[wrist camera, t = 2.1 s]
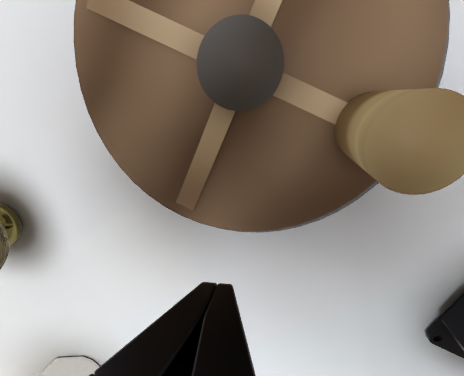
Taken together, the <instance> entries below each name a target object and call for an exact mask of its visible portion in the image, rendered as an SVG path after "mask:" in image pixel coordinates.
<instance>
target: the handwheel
mask: <svg viewBox="0 0 464 376" xmlns="http://www.w3.org/2000/svg"><path fill="white" fill-rule="evenodd" d="M447 28H448V0H76V5H75V13H74V49H75V59H76V68H77V73H78V77H79V82H80V87H81V91H82V94H83V97H84V100H85V104H86V107H87V110H88V113H89V115H90V117H91V119H92V122H93V124H94V126H95V128H96V131H97V133H98V134H99V136H100V138H101V140H102V141H103V143H104V145H105V147H106V148H107V150H108V151H109V153H110V154H111V155H112V157H113V158H114V160H115V161H116V162H117V164H118V165H119V166H120V168H121V169H122V170H123V171H124V172H125V173H126V174H127V175H128V176H129V178H130V179H131V180H132V181H133V182H134V183H135V184H136V185H138V186H139V187H140V188H141V189H142V190H143V191H144V192H145V193H147V194H148V195H149V196H150V197H152V198H153V199H155V200H156V201H158V202H159V203H160V204H162V205H163V206H165V207H167V208H168V209H170V210H172V211H174V212H176V213H178V214H180V215H181V216H184V217H186V218H189V219H191V220H194V221H196V222H199V223H202V224H206V225H209V226H213V227H217V228H223V229H229V230H236V231H266V230H277V229H282V228H287V227H291V226H296V225H299V224H302V223H305V222H308V221H311V220H314V219H317V218H319V217H321V216H324V215H326V214H328V213H330V212H332V211H334V210H336V209H338V208H340V207H341V206H343V205H344V204H346V203H348V202H349V201H351V200H352V199H354V198H356V197H357V196H358V195H359V194H361V193H362V192H363V191H364V190H366V189H367V188H368V187H369V186H371V185H372V184H373V183H374V182H375V181H376V180H377V181H378V182H379V183H380V184H382V185H383V186H384V187H386V188H388V189H390V190H392V191H395V192H398V193H402V194H414V195H417V194H425V193H430V192H434V191H437V190H439V189H442V188H444V187H446V186H448V185H450V184H451V183H453V182H454V181H456V180H457V179H459V178H460V177H461V176H462V175H463V174H464V96H463V95H461V94H459V93H457V92H455V91H452V90H448V89H442V88H436V85H437V82H438V78H439V75H440V72H441V69H442V64H443V58H444V53H445V47H446V42H447Z"/></svg>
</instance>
